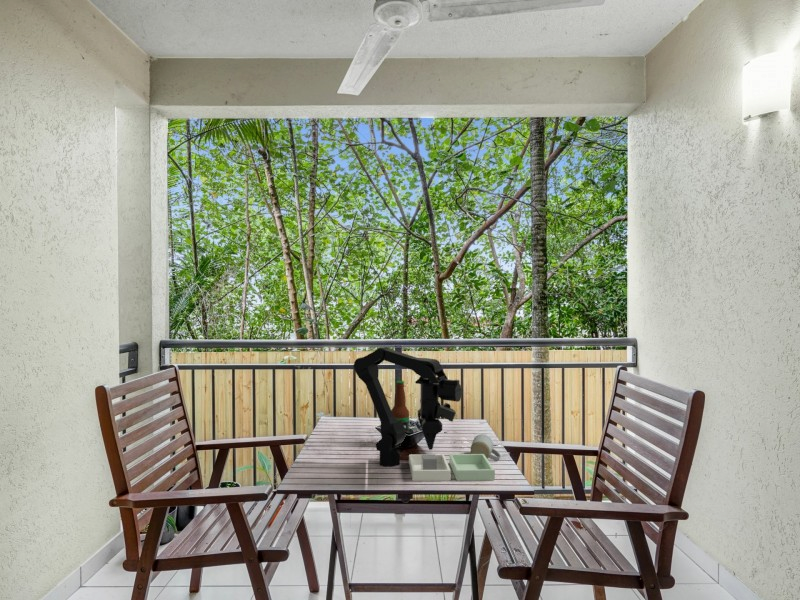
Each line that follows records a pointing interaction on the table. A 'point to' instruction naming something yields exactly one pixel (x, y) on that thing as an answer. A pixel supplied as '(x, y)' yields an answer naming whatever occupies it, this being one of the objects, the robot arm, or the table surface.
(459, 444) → the table surface
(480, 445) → the ceramic mug
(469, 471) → the green bin
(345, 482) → the table surface
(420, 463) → the cream bin
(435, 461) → the stone block
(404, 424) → the bottle
